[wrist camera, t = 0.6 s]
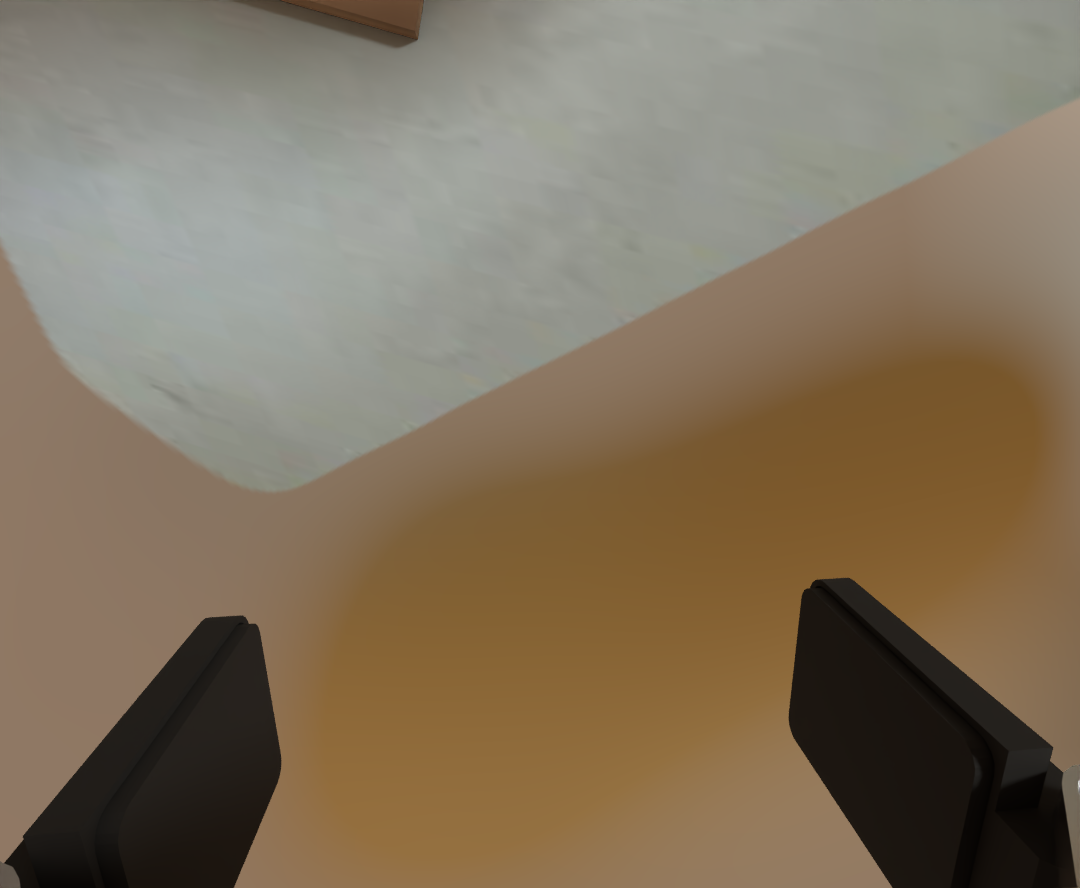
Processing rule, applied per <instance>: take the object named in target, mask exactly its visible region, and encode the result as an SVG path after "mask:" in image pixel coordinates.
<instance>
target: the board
mask: <svg viewBox="0 0 1080 888" xmlns="http://www.w3.org/2000/svg"><path fill="white" fill-rule="evenodd" d="M281 1H284V2H288V3H291V4H295V5H298V6H302V7H305V8H309V9H312V10H316V11H319V12H323V13H326V14H330V15H333V16H337V17H340V18H344V19H347V20H351V21H354V22H358V23H361V24H365V25H368V26H372V27H375V28H379V29H382V30H386V31H389V32H393V33H396V34H400V35H403V36H407V37H410V38H414V39H417V40H418V34H419V27H420V21H421V14H422V8H423V1H424V0H281Z"/></svg>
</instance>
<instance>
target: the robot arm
mask: <svg viewBox="0 0 1080 888" xmlns="http://www.w3.org/2000/svg"><path fill="white" fill-rule="evenodd" d="M789 725H790V729H791V732H792V735H793V737H794V739H795V740H796V742H797V743H798V745H799V747H800V748H801V750H802V751H803V753H804V754H805V755H806V757H807V759H808V760H809V762H810V763H811V765H812V766H813V768H814V769H815V771H816V772H817V774H818V775H819V777H820V778H821V780H822V781H823V783H824V784H825V786H826V787H827V789H828V790H829V792H830V794H831V795H832V797H833V798H834V800H835V801H836V803H837V804H838V805H839V807H840V809H841V810H842V812H843V813H844V815H845V816H846V818H847V819H848V821H849V822H850V824H851V825H852V827H853V828H854V830H855V831H856V833H857V834H858V836H859V837H860V839H861V841H862V842H863V844H864V845H865V847H866V848H867V849H868V851H869V852H870V854H871V856H872V857H873V859H874V860H875V862H876V863H877V865H878V866H879V868H880V869H881V871H882V872H883V874H884V875H885V877H886V878H887V880H888V881H889V883H890V884H891V886H892V888H1080V765H1075V766H1072V767H1070V768H1069V769H1068V770H1066V771H1065V772H1064V773H1063V772H1062V771H1061V770H1060V769H1058V768H1057V767H1056V766H1055V765H1054V764H1053V763H1052V762H1050V758H1051V755H1052V750H1053V747H1052V746H1051V745H1050V744H1049V743H1047V742H1046V741H1045V740H1044V739H1043V738H1042V737H1040V736H1039V735H1038V734H1037V733H1036V732H1034V731H1033V730H1032V729H1031V728H1030V727H1028V726H1027V725H1026V724H1025V723H1024V722H1022V721H1021V720H1020V719H1019V718H1018V717H1016V716H1015V715H1014V714H1013V713H1012V712H1010V711H1009V710H1008V709H1007V708H1006V707H1004V706H1003V705H1002V704H1001V703H1000V702H998V701H997V700H996V699H995V698H994V697H992V696H991V695H990V694H989V693H987V692H986V691H985V690H984V689H983V688H982V687H980V686H979V685H978V684H977V683H976V682H974V681H973V680H972V679H971V678H970V677H968V676H967V675H966V674H965V673H964V672H962V671H961V670H960V669H959V668H958V667H957V666H955V665H954V664H953V663H952V662H951V661H949V660H948V659H947V658H946V657H945V656H943V655H942V654H941V653H940V652H939V651H937V650H936V649H935V648H934V647H933V646H931V645H930V644H929V643H928V642H927V641H925V640H924V639H923V638H922V637H921V636H919V635H918V634H917V633H916V632H915V631H913V630H912V629H911V628H910V627H908V626H907V625H906V624H905V623H904V622H902V621H901V620H900V619H899V618H898V617H897V616H895V615H894V614H893V613H892V612H891V611H889V610H888V609H887V608H886V607H885V606H883V605H882V604H881V603H880V602H879V601H877V600H876V599H875V598H874V597H873V596H872V595H870V594H869V593H868V592H867V591H865V590H864V589H863V588H862V587H861V586H860V585H858V584H857V583H856V582H855V581H853V580H852V579H850V578H836V579H820V580H815V581H814V582H813V583H812V585H811V587H810V588H809V589H806V590H804V592H803V594H802V599H801V608H800V618H799V626H798V636H797V644H796V654H795V662H794V673H793V681H792V690H791V699H790V708H789ZM280 771H281V754H280V747H279V742H278V735H277V729H276V724H275V718H274V712H273V706H272V700H271V695H270V688H269V683H268V677H267V671H266V665H265V659H264V654H263V647H262V642H261V636H260V631H259V628H258V626H257V625H256V624H249V623H248V621H247V619H246V617H244V616H226V617H212V618H211V617H210V618H205V619H204V620H203V621H202V622H201V623H200V624H199V625H198V626H197V627H196V629H195V630H194V631H193V632H192V633H191V635H190V636H189V637H188V638H187V639H186V641H185V642H184V643H183V644H182V645H181V647H180V648H179V649H178V650H177V652H176V653H175V654H174V655H173V656H172V658H171V659H170V660H169V661H168V662H167V664H166V665H165V666H164V667H163V668H162V670H161V671H160V672H159V673H158V675H157V676H156V677H155V678H154V679H153V680H152V682H151V683H150V684H149V685H148V686H147V688H146V689H145V690H144V691H143V692H142V694H141V695H140V696H139V697H138V698H137V700H136V701H135V702H134V703H133V705H132V706H131V707H130V708H129V709H128V711H127V712H126V713H125V714H124V715H123V716H122V718H121V719H120V720H119V721H118V723H117V724H116V725H115V726H114V727H113V729H112V730H111V731H110V732H109V733H108V735H107V736H106V737H105V738H104V739H103V740H102V742H101V743H100V744H99V746H98V747H97V748H96V749H95V750H94V751H93V753H92V754H91V755H90V756H89V757H88V759H87V760H86V761H85V762H84V763H83V765H82V766H81V767H80V768H79V769H78V771H77V772H76V773H75V774H74V775H73V777H72V778H71V779H70V780H69V781H68V783H67V784H66V785H65V786H64V787H63V789H62V790H61V791H60V792H59V793H58V795H57V796H56V797H55V798H54V800H53V801H52V802H51V803H50V804H49V805H48V807H47V808H46V809H45V810H44V811H43V813H42V814H41V815H40V816H39V817H38V819H37V820H36V821H35V822H34V824H33V825H32V826H31V827H30V828H29V829H28V831H27V832H26V833H25V834H24V835H23V838H24V840H23V841H22V842H21V843H20V845H19V846H18V847H17V848H16V850H15V851H14V852H13V853H12V854H11V856H10V857H9V858H8V859H7V860H6V862H5V863H2V862H0V888H234V886H235V883H236V881H237V879H238V876H239V874H240V871H241V869H242V867H243V864H244V862H245V859H246V857H247V855H248V852H249V850H250V847H251V845H252V843H253V840H254V838H255V835H256V833H257V831H258V828H259V826H260V823H261V821H262V819H263V816H264V814H265V811H266V809H267V806H268V804H269V802H270V799H271V797H272V795H273V792H274V790H275V787H276V785H277V783H278V779H279V776H280Z"/></svg>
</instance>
